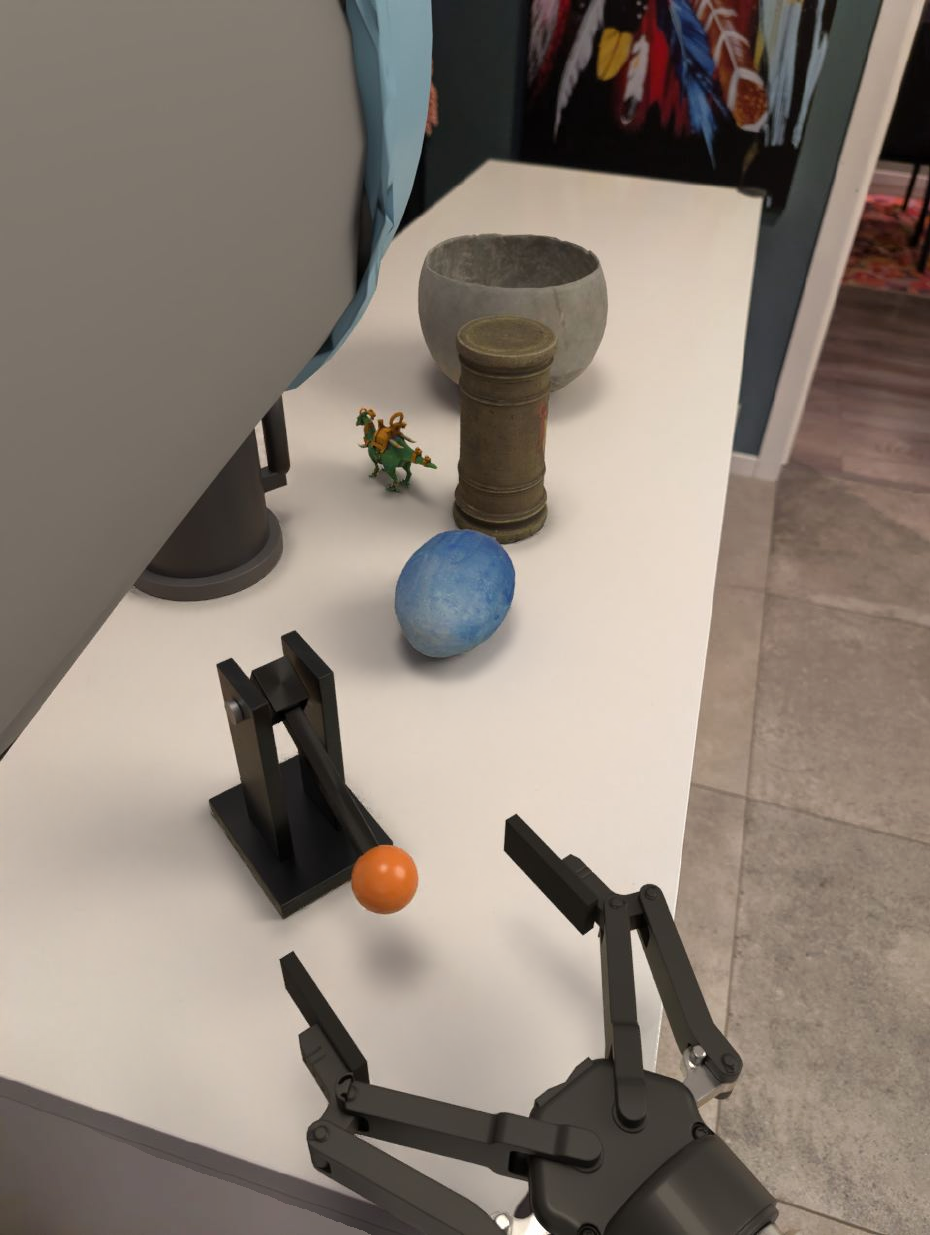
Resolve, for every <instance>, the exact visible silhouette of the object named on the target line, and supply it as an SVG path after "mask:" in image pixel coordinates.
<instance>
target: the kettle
mask: <svg viewBox="0 0 930 1235" xmlns="http://www.w3.org/2000/svg"><path fill="white" fill-rule="evenodd" d="M260 422H261V428H262V435H263V442H264V449H265V450H264V451H265V458H266V463H267V464H266V466H262V467H261V461H260V460H261V459H260V455H259V447H258V440H257V433H256V427H255V428H254V429H253V431H252V432H251V433H250V434H249V436H248V437H247V438H246V439H245V441H244V442H243V443H242V444H241V446H240V447H239V448H238V450H237V451H236V452H235V453H234V455H233V456H232V457H231V458H230V460H229V461H228V462H227V463H226V465H225V466H224V467H223V469H222V470H221V471H220V472H219V474H218V475H217V476H216V478H215V479H214V480H213V481H212V483H211V484H210V485H209V487H208V488H207V489H206V490H205V492H204V493H203V494H202V496H201V497H200V498H199V499H198V501H197V502H196V503H195V505H194V506H193V507H192V508H191V510H190V511H189V512H188V514H187V515H186V516H185V517H184V519H183V520H182V521H181V523H180V524H179V525H178V526H177V528H176V529H175V530H174V532H173V533H172V534H171V535H170V537H169V538H168V539H167V541H166V542H165V543H164V545H163V546H162V547H161V549H160V550H159V551H158V553H157V554H156V555H155V557H154V558H153V559H152V560H151V562H150V563H149V564H148V566H147V567H146V568H145V570H144V571H143V572H142V574H141V575H140V576H139V578H138V579H137V580H136V582H135V583H134V584H133V586H134V587H136V588H137V589H138V590H140V591H141V592H144V593H146V594H148V595H151V596H153V597H156V598H159V599H160V598H162V599H165V600H171V601H180V602H182V601H184V602H190V601H191V602H195V601H205V600H211V599H212V600H213V599H217V598H221V597H226V596H229V595H232V594H234V593H238V592H241V591H242V590H245V589H247V588H249V587H250V586H252V585H254V584H256V583H258V582H260V581H261V580H262V579H263V578H264V577H266V576H267V575H268V574H269V573H270V572H271V571H272V570H273V569H274V568H275V567H276V565H277V563H278V562H279V560H280V558H281V556H282V553H283V548H284V543H283V542H284V540H283V533H282V526H281V523H280V521H279V519H278V516H276V514H275V513H274V512H273V510H271V509H270V508H268V507H267V502H266V501H267V500H266V495H265V494H266V493H268V492H272V491H274V490H277V489H280V488H283V487H286V486H288V480H287V474H288V473H289V471H290V469H291V459H290V458H291V456H290V449H289V441H288V434H287V426H286V417H285V409H284V400H283V394H282V395H281V396H280V397H279V399H278V400H277V401H276V402H275V403H274V405H273V406H272V407H271V408H270V410H269V411H268V412H267V413H266V414H265V416H264V417H263V418H262V419H261V420H260Z"/></svg>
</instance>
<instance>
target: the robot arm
mask: <svg viewBox="0 0 930 1235" xmlns="http://www.w3.org/2000/svg"><path fill="white" fill-rule="evenodd" d="M432 11H433V10H432V0H0V762H2V760H3V759H4V757H5V756H6V755H7V753H8V752H9V751H10V750H11V748H12V747H13V745H14V744H15V743H16V741H18V739H19V737H20V736H21V735H22V733H23V732H24V731H25V729H26V728H27V727H28V726H29V724H30V723H31V722H32V721H33V719H34V718H35V717H36V715H37V714H38V713H39V711H40V710H41V709H42V707H43V706H44V704H45V703H46V702H47V700H48V699H49V698H50V696H51V695H52V693H53V692H54V691H55V689H56V688H57V687H58V685H59V684H60V683H61V681H62V680H63V679H64V677H65V676H66V675H67V673H68V672H69V671H70V670H71V668H72V667H73V665H74V664H75V663H76V662H77V660H78V659H79V658H80V656H81V655H82V654H83V652H84V651H85V650H86V649H87V647H88V646H89V645H90V643H91V641H92V640H93V639H94V638H95V636H96V635H97V634H98V632H99V631H100V630H101V628H102V627H103V626H104V624H105V623H106V622H107V620H108V619H109V618H110V616H111V615H112V614H113V612H114V611H115V610H116V608H117V607H118V605H120V604H121V602H122V601H123V599H124V598H125V596H126V595H127V593H129V591H130V590H131V588H132V587H133V586H134V585H133V584H134V583H135V582H136V580H137V579H138V578H139V576H140V575H141V574H142V572H143V571H144V570H145V568H146V567H147V566H148V564H149V563H150V562H151V560H152V559H153V558H154V557H155V555H156V554H157V553H158V551H159V550H160V549H161V547H162V546H163V545H164V543H165V542H166V541H167V539H168V538H169V537H170V535H171V534H172V533H173V532H174V530H175V529H176V528H177V526H178V525H179V524H180V523H181V521H182V520H183V519H184V517H185V516H186V515H187V514H188V512H189V511H190V510H191V508H192V507H193V506H194V505H195V503H196V502H197V501H198V499H199V498H200V497H201V496H202V494H203V493H204V492H205V490H206V489H207V488H208V487H209V485H210V484H211V483H212V481H213V480H214V479H215V478H216V476H217V475H218V474H219V472H220V471H221V470H222V469H223V467H224V466H225V465H226V463H227V462H228V461H229V460H230V458H231V457H232V456H233V455H234V453H235V452H236V451H237V450H238V448H239V447H240V446H241V444H242V443H243V442H244V441H245V439H246V438H247V437H248V436H249V434H250V433H251V432H252V431H253V429H254V428H255V429H256V427H257V426H258V425H259V423H260V422H261V419H262V418H263V417H264V416H265V414H266V413H267V412H268V411H269V410H270V408H271V407H272V406H273V405H274V403H275V402H276V401H277V400H278V399H279V397H280V396H281V395H282V396H283V394H284V393H285V392H288V391H292V390H296V389H297V388H299V387H300V386H302V385H303V384H304V383H305V382H307V380H309V379H310V377H312V376H313V375H314V374H315V373H316V372H317V371H319V370H320V369H321V368H322V367H324V366H325V365H326V364H327V363H329V361H331V360H332V359H333V358H334V356H335V355H336V354H337V353H338V352H339V350H340V349H341V348H342V346H344V344H345V342H346V341H347V340H348V338H349V337H350V335H351V334H352V333H353V331H354V329H355V328H356V327H357V325H358V324H359V323H360V321H361V320H362V318H363V316H364V314H365V313H366V311H367V309H368V307H369V305H370V303H371V301H372V299H373V297H374V295H375V292H376V291H377V287H378V280H379V275H380V268H381V264H382V263H381V262H382V260H383V259H384V257H385V256H386V254H387V251H388V250H389V248H390V246H391V244H392V242H393V239H394V237H395V235H396V232H397V231H398V229H399V226H400V223H401V221H402V218H403V216H404V213H405V210H406V207H407V205H408V201H409V200H410V196H411V193H412V190H413V186H414V183H415V179H416V175H417V170H418V166H419V163H420V159H421V156H422V152H423V151H422V149H423V144H424V138H425V134H426V128H427V122H428V114H429V105H430V97H431V96H430V95H431V88H432V86H431V85H432V59H433V58H432V57H433V35H434V33H433V14H432ZM503 852H504V853H505V854H506V855H507V856H508V857H509V858H510V859H511V861H513V862H514V863H515V865H516V866H517V867H518V868H519V869H520V870H521V871H522V872H523V873H524V875H526V876H527V878H528V879H529V880H530V881H531V882H532V883H533V884H534V885H535V886H536V887H537V889H538V890H540V892H541V893H542V894H543V895H544V896H545V897H546V898H547V899H548V900H549V901H550V902H551V904H552V905H553V906H555V907H556V909H557V910H558V911H559V912H560V913H561V914H562V915H563V917H565V918H566V919H567V921H568V922H569V923H570V924H571V925H572V926H573V927H574V928H575V929H576V930H577V931H578V933H579V934H580V935H581V936H582V937H583V936H585V935H587V933H589V932H590V931H591V930H593V929H594V928H595V923H596V925H597V926H598V932H597V938H599V954H600V969H601V970H600V971H601V972H600V975H601V989H602V990H601V993H602V1010H603V1011H602V1013H603V1032H604V1057H600V1058H594V1059H592V1058H590V1056H588V1057H586V1058H585V1059H584V1060H582V1061H581V1062H580V1063H578V1064H577V1065H576V1066H575V1067H574V1069H573V1070H572V1071H571V1073H570V1074H569V1076H568V1077H567V1078H566V1080H565V1081H564V1082H562V1083H559V1084H557V1085H555V1086H552V1087H549V1088H548V1089H546V1090H545V1091H543V1092H542V1093H541V1094H539V1096H537V1097H536V1098H535V1099H534V1101H533V1107H532V1108H531V1109H530V1112H529V1114H528V1116H525V1115H520V1114H516V1113H513V1112H508V1111H501V1112H498V1113H491V1112H488V1111H483V1110H479V1109H474V1108H470V1107H466V1106H462V1105H458V1104H454V1103H450V1102H446V1101H442V1100H437V1099H433V1098H429V1097H425V1096H421V1095H417V1094H413V1093H409V1092H404V1091H400V1090H397V1089H392V1088H388V1087H385V1086H379V1085H375V1084H372V1083H370V1082H371V1081H370V1073H369V1065H368V1060H367V1059H366V1057H365V1056H364V1054H363V1052H362V1051H361V1049H360V1048H359V1046H358V1045H357V1044H356V1042H355V1041H354V1039H353V1038H352V1036H351V1035H350V1033H349V1031H348V1030H347V1029H346V1027H345V1026H344V1024H343V1023H342V1021H341V1020H340V1019H339V1017H338V1016H337V1014H336V1011H334V1009H333V1008H332V1006H331V1005H330V1003H329V1002H328V1001H327V999H326V997H325V996H324V994H323V993H322V991H321V990H320V988H319V987H318V985H317V984H316V982H315V981H314V979H313V978H312V976H311V975H310V973H309V971H308V970H307V969H306V967H305V966H304V964H303V963H302V961H301V960H300V958H299V957H298V956H297V953H296V952H295V951H294V950H292V951H290V952H288V953H286V954H285V955H283V956H282V957H280V958H279V965H280V971H281V974H282V979H283V984H284V989H285V990H286V993H287V994H288V995H289V997H290V998H291V1000H292V1001H293V1003H294V1004H295V1006H296V1008H297V1009H298V1011H299V1012H300V1013H301V1015H302V1017H303V1018H304V1020H305V1021H306V1023H307V1025H308V1026H309V1027H307V1028H306V1029H304V1030H303V1031H301V1032H300V1033H298V1034H297V1037H298V1044H299V1049H300V1053H301V1058H302V1062H303V1063H304V1065H305V1067H306V1068H307V1070H308V1071H309V1073H310V1076H312V1078H313V1079H314V1081H315V1082H316V1085H317V1086H318V1087H319V1089H320V1091H321V1092H322V1094H323V1096H324V1097H325V1099H326V1100H327V1103H328V1104H327V1107H326V1109H325V1111H323V1113H322V1115H321V1116H320V1117H319V1119H317V1120H314V1121H312V1122H311V1123H310V1125H309V1126H308V1128H307V1130H306V1132H305V1134H306V1135H305V1136H306V1137H305V1138H306V1139H305V1140H306V1144H307V1148H308V1153H309V1156H310V1160H311V1164H312V1167H313V1168H314V1169H315V1171H317V1172H319V1173H320V1174H322V1175H323V1176H325V1177H327V1178H329V1179H331V1180H332V1181H334V1182H336V1183H337V1184H339V1185H341V1186H342V1187H345V1188H346V1189H348V1190H350V1191H352V1192H353V1193H355V1194H356V1195H357V1196H359V1197H361V1198H363V1199H365V1200H367V1201H369V1202H370V1203H372V1204H373V1205H375V1206H377V1207H379V1208H380V1209H382V1210H384V1211H385V1212H387V1213H389V1214H391V1215H392V1216H394V1217H396V1218H397V1219H399V1220H401V1221H402V1222H404V1223H406V1224H408V1225H409V1226H411V1227H412V1228H415V1229H416V1230H418V1231H420V1232H421V1233H423V1234H425V1235H807V1233H806V1232H805V1231H804V1230H803V1228H790V1229H788V1230H787V1231H785V1233H784V1232H783V1230H782V1229H781V1228H780V1227H779V1226H778V1224H776V1221H777V1220H778V1217H779V1215H780V1211H779V1209H778V1208H777V1207H776V1206H777V1204H778V1200H777V1199H776V1198H775V1197H774V1196H773V1194H772V1193H771V1192H770V1191H769V1190H768V1189H767V1188H766V1186H764V1184H763V1183H762V1182H761V1180H759V1179H758V1177H756V1176H755V1174H754V1173H753V1172H752V1171H751V1169H749V1168H748V1166H747V1165H746V1164H745V1163H744V1162H743V1161H742V1160H741V1158H740V1157H739V1156H738V1155H737V1154H736V1153H735V1152H734V1150H732V1148H730V1146H729V1145H728V1144H727V1143H726V1142H725V1140H723V1138H722V1137H721V1136H719V1135H718V1134H717V1133H716V1132H715V1131H713V1130H712V1129H711V1128H710V1127H709V1126H708V1125H707V1124H706V1122H705V1121H704V1119H703V1117H702V1115H701V1113H700V1110H699V1109H700V1108H701V1107H702V1106H704V1105H706V1104H707V1103H709V1102H710V1101H711V1100H713V1099H716V1100H720V1101H724V1100H726V1099H728V1098H730V1097H731V1095H732V1094H733V1091H734V1088H735V1086H736V1084H737V1082H738V1080H739V1077H740V1075H741V1073H742V1070H743V1068H744V1063H743V1059H742V1057H741V1055H740V1054H739V1053H738V1051H737V1050H736V1049H735V1047H734V1046H733V1045H732V1044H731V1043H730V1042H729V1040H728V1039H727V1038H726V1036H725V1035H724V1034H723V1033H722V1031H721V1030H720V1029H719V1027H717V1025H716V1024H715V1023H714V1020H713V1018H712V1015H711V1013H710V1009H709V1008H708V1005H707V1003H706V1000H705V998H704V995H703V992H702V990H701V987H700V984H699V981H698V980H697V979H698V978H697V977H696V974H695V971H694V969H693V966H692V964H691V961H690V960H689V959H690V958H689V957H688V954H687V951H686V948H685V945H684V943H683V941H682V938H681V936H680V934H679V931H678V928H677V925H676V923H675V919H674V918H673V915H672V913H671V910H670V907H669V905H668V903H667V899H666V898H665V895H664V892H663V890H662V889H661V887H659V886H658V885H656V884H654V883H646V884H643V885H642V886H640V888H639V891H635V892H632V893H631V892H630V893H628V894H621V893H617V892H615V891H613V890H612V889H611V888H609V886H608V885H607V884H605V882H604V881H603V880H602V879H601V878H600V877H599V876H598V875H597V874H596V873H595V872H594V871H593V870H592V869H591V868H590V867H589V866H588V865H587V864H586V863H585V862H584V861H583V860H582V859H581V858H580V857H578V856H576V855H574V854H572V853H570V854H568V855H567V856H565V857H563V858H561V857H559V855H558V854H557V853H556V852H555V851H554V850H553V849H552V848H551V847H550V846H549V845H548V844H547V843H546V842H545V841H544V840H543V839H542V837H540V836H539V834H537V833H536V832H535V831H534V829H533V828H531V827H530V826H529V825H528V824H527V823H526V821H524V819H523V818H522V817H521V816H520V815H519V814H518V813H517V812H516V813H514V814H513V815H511V816H509V817H508V818H506V819H505V822H504V836H503ZM635 930H636V933H637V936H638V938H639V941H640V945H641V947H642V950H643V952H644V956H645V959H646V962H647V964H648V967H649V970H650V973H651V975H652V978H653V981H654V984H655V987H656V991H657V992H658V995H659V998H660V1001H661V1003H662V1006H663V1007H662V1008H663V1009H664V1013H665V1015H666V1017H667V1021H668V1023H669V1026H670V1029H671V1032H672V1035H673V1038H674V1040H675V1043H676V1045H677V1049H678V1050H679V1053H680V1054H681V1059H680V1062H679V1071H680V1073H681V1075H682V1078H683V1081H681V1080H679V1079H676V1078H673V1077H670V1076H666V1075H663V1074H660V1073H657V1072H654V1071H650V1070H647V1069H644V1060H643V1048H642V1045H643V1044H642V1035H641V1026H640V1025H639V1022H638V1021H639V1020H638V1008H637V1007H638V1006H637V996H636V994H637V993H636V985H635V983H636V982H635V971H634V956H633V946H632V934H631V932H632V931H635ZM357 1135H359V1136H363V1137H365V1138H366V1137H367V1138H371V1139H374V1140H378V1141H381V1142H386V1143H390V1144H394V1145H398V1146H403V1147H406V1148H410V1149H414V1150H418V1151H421V1152H426V1153H430V1154H433V1155H438V1156H440V1157H441V1156H442V1157H446V1158H448V1159H454V1160H457V1161H461V1162H465V1163H468V1164H469V1163H470V1164H473V1165H477V1166H481V1167H484V1168H487V1169H489V1170H490V1171H491V1172H492V1173H495V1174H496V1175H498V1176H501V1177H502V1176H503V1177H506V1178H511V1179H514V1180H518V1181H522V1182H526V1183H527V1186H528V1188H527V1189H528V1201H529V1202H528V1205H529V1216H527V1217H525V1218H518V1217H515V1216H513V1215H512V1214H511V1213H508V1212H507V1211H503V1210H497V1211H495V1212H493V1213H492V1214H490V1215H489V1214H488V1212H486V1211H485V1210H484V1209H483V1208H482V1207H480V1206H479V1205H478V1204H477V1203H475V1202H474V1201H472V1200H470V1199H469V1198H467V1197H466V1196H464V1195H463V1194H460V1193H459V1192H457V1191H456V1190H453V1189H452V1188H450V1187H448V1186H446V1185H445V1184H443V1183H441V1182H439V1181H438V1180H435V1179H434V1178H432V1177H430V1176H429V1175H426V1174H425V1173H423V1172H421V1171H419V1170H418V1169H416V1168H414V1167H412V1166H410V1165H409V1164H407V1163H405V1162H403V1161H401V1160H400V1159H399V1158H397V1157H394V1156H393V1155H391V1154H390V1153H387V1152H385V1151H384V1150H383V1149H380V1148H379V1147H377V1146H375V1145H373V1144H371V1143H369V1142H368V1141H366V1140H365V1139H362V1138H360V1137H359V1136H357Z"/></svg>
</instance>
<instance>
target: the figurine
mask: <svg viewBox="0 0 930 1235" xmlns="http://www.w3.org/2000/svg"><path fill="white" fill-rule="evenodd" d="M358 412H359V415H358V416H357V417H356V419H357V420H356V422H355V426H356V427H359V426H362V427H363V437H362V439H363V442H364V443H363V444H360V443H357V445H358V447H359V448H361V449H366V448H367V453H368V456H369V458H370V460H371V462H372V463H373V464H374V468H373V472H371V474H369V475H368V477H369V478H375V477H377V476H378V473H379V472H380V471H381V472H384V473H386V476H388V478H390V480H392V484H391V485H388V486H387V487H386V488H385V489H386V490H387V491H393V490H395V492H399V488H398V484H399V483H400V484H404V485H406V486H407V487H410V486H411V483H410V480H411V477H412V475H413V473H412V472H411V466H412V464H414V465H421V466H423V467H424V468H428V469H429V468H431V469H433V470H437V469H438V466H437V465H436V464H435V463H433V462H432V458H431V457H430V456H429V455H424V457H423V455H422V454H423V450H422V449H421V448H420V447H419V446H417V447H416V448H414V449H413V448H411V446H410V445H408V443H407V442H409V443H411V444H417V442H418V441H417V440H413V439H412V438H411V437H408V436H407V435H405V433H403V432H402V431H401V429H403V430H405V429H406V427H407V423H406V422H405V421H404V418H405V414H404V413H403V412H401V411H397V412H396V411H395V412H394V413H393V414H392V415H391V416H390V418H389V421H388V424H389V426H386V425H385V422H384V419H383V418H377V421H376V422H377V428H376V426H375V424H374V420H375V417H377V414H376V412H375V411H374V409H373V408H369V409H367V408H366V407H361V408H360V409H359V411H358ZM397 418H399V421H396V422H394V421H395V420H396V419H397ZM379 465H381V466H382V468H380V467H379ZM397 468H398V469H399V468H401V469H402V470H403V471H404V472H405V473H406V475H405V477H404V479H403V478H402V479H401V480H400V479H399V478H398V475H397Z"/></svg>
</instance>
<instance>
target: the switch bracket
mask: <svg viewBox="0 0 930 1235" xmlns="http://www.w3.org/2000/svg"><path fill="white" fill-rule="evenodd" d="M280 642H281V649H282V655H283V656H285V655H286V656H287V657H288V658H289V660H290V662H291V664H292V665H293V667H294V669H295V671H296V672H297V674H298V676H299V678H300V679H301V681H302V683H303V685H304V686H305V688H306V690H307V692H308V693H309V695H310V698H309V700H308V702H307V705H306V707H305V709H304V711H303V712H304V713H305V715H306V717H307V719H308V720H309V722H310V724H311V726H312V727H313V729H314V731H315V733H316V734H317V736H318V738H319V740H320V741H321V743H322V745H323V747H324V748H325V750H326V752H327V754H328V755H329V757H330V759H331V761H332V762H333V764H334V766H335V768H336V770H337V771H338V773H339V775H340V777H341V778H342V780H343V782H344V784H345V785H346V787H347V789H348V791H349V792H350V794H351V796H352V798H353V799H354V801H355V803H356V805H357V806H358V808H359V810H360V812H361V813H362V815H363V817H364V819H365V820H366V822H367V824H368V826H369V827H370V829H371V831H372V833H373V835H374V836H375V838H376V840H377V842H378V843H379V845H392V846H394V840H392V839H391V837H390V836H389V835H388V834H387V832H386V830H385V829H383V828H382V826H381V825H380V824H379V822H377V821H376V818H374V817H373V815H372V814H371V813H370V812H369V810H368V809H367V807H365V806H364V804H363V803H362V802H361V801H360V799H358V797H357V795H356V794H354V792H353V791H352V790H351V788H350V787H349V786H348V785H347V783H346V776H345V767H344V766H345V765H344V757H343V756H344V755H343V747H342V738H341V729H340V728H341V727H340V719H339V708H338V701H337V691H336V690H337V689H336V681H335V672H334V671H333V669H331V668H330V666H329V665H328V664H327V663H326V662H325V660H323V658H321V656H320V655H319V654H317V652H316V651H315V650H314V649H313V647H312V646H310V644H309V643H308V642H307V641H306V640H305V639H304V638H303V637H302V636H301V634H299V632H298V631H297V630H292V631H289V632H287V633H285V634H282V635H281V636H280ZM283 656H282V657H283ZM215 666H216V672H217V676H218V680H219V686H220V691H221V694H222V695H221V696H222V699H223V705H224V706H223V707H224V709H225V713H226V717H227V722H228V728H229V731H230V732H229V733H230V736H231V741H232V746H233V750H234V755H235V760H236V765H237V770H238V774H239V779H240V783H238V784H237V785H236V784H235V785H234V786H232V787H230V788H228V789H226V790H224V791H222V792H221V793H218V794H216V795H214V796H213V797H211V798H209V799H208V804H209V807H210V812H211V813H212V815H213V816H214V818H215V819H216V821H217V822H218V824H219V826H220V828H222V830H223V831H224V833H225V834H226V836H227V837H228V839H229V841H230V842H231V843H232V845H233V846H234V848H235V849H236V851H237V852H238V854H239V855H240V857H241V858H242V860H243V861H244V863H245V865H246V866H247V867H248V869H249V871H250V872H251V873H252V875H253V876H254V878H255V879H256V881H257V883H258V884H259V885H260V887H261V888H262V889H263V891H264V894H266V896H267V897H268V899H269V900H270V901H271V903H272V905H273V907H275V909H276V910H277V912H278V914H279V915H280V917H281V918H282V919H285V918H288V917H289V916H291V915H293V914H294V913H296V912H298V911H299V910H301V909H303V908H304V907H306V906H309V905H310V904H311V903H313V902H315V901H317V900H318V899H320V898H321V897H323V896H324V895H327V894H328V893H330V892H333V891H334V890H335V889H337V888H338V887H340V886H342V885H344V884H346V883H347V882H349V881H351V875H352V870H353V867H354V865H355V863H356V861H357V860H358V858H359V857H358V856H357V854H356V852H355V850H354V849H353V847H352V845H351V843H350V841H349V840H348V838H347V836H346V834H345V833H344V831H343V829H342V827H341V825H340V824H339V822H338V820H337V818H336V816H335V815H334V813H333V811H332V809H331V808H330V806H329V804H328V802H327V800H326V799H325V797H324V795H323V793H322V792H321V790H320V788H319V786H318V784H317V783H316V781H315V779H314V777H313V776H312V774H311V772H310V770H309V768H308V767H307V765H306V763H305V761H304V760H303V758H302V756H301V754H300V752H299V751H298V750H297V754H296V755H294V756H292V757H289V758H288V759H286V760H284V761H282V762H280V761H279V755H278V750H277V744H276V743H277V742H276V738H275V732H274V727H273V726H274V725H272V719H271V714H270V708H269V703H268V701H267V700H266V699H265V698H264V696H263V695H262V694H261V693H260V691H259V690H258V689H257V688H256V686H255V685H254V684H253V683H252V682H251V680H250V677H249V676H248V675H247V674H246V673H245V672H244V670H243V669H242V668H241V667H240V665H239V664H238V663H237V662H236V660H235V659H234V658H233V657H230V658H227V659H225V660H222V661H220V662H217V663H216V665H215Z"/></svg>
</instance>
